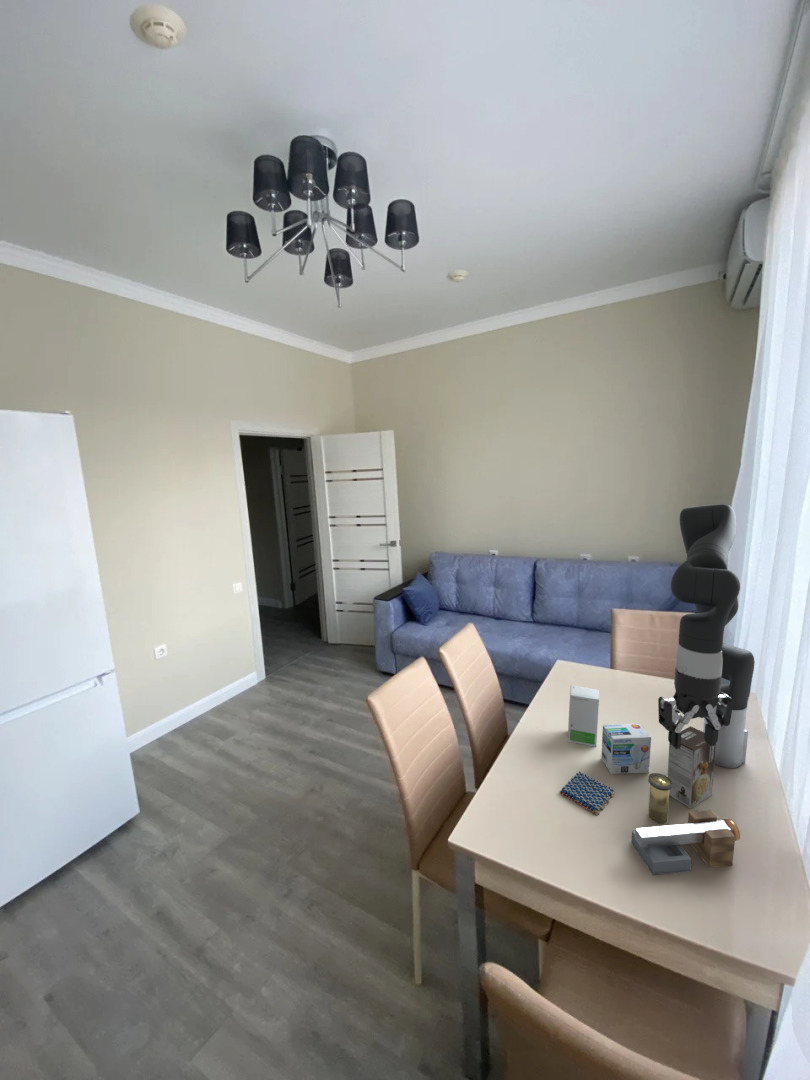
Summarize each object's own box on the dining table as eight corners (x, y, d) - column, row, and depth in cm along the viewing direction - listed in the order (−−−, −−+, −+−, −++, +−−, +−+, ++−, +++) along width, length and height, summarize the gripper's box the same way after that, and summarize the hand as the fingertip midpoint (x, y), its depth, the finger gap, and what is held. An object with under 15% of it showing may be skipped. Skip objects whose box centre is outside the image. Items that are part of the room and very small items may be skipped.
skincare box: (567, 742, 134) (568, 695, 131) (568, 729, 140) (569, 684, 137) (597, 747, 131) (599, 699, 128) (597, 734, 137) (598, 688, 134)
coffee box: (686, 779, 116) (690, 724, 114) (712, 795, 111) (717, 738, 108) (665, 793, 112) (669, 736, 109) (691, 809, 107) (695, 750, 104)
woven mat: (616, 795, 113) (617, 788, 113) (597, 818, 106) (597, 811, 106) (578, 775, 121) (578, 768, 120) (557, 795, 114) (557, 788, 114)
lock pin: (724, 829, 97) (726, 814, 96) (739, 845, 93) (741, 829, 92) (632, 838, 96) (633, 822, 95) (643, 854, 92) (644, 837, 92)
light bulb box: (611, 774, 120) (612, 739, 118) (600, 758, 126) (601, 724, 124) (650, 773, 120) (652, 737, 118) (637, 756, 126) (639, 722, 124)
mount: (707, 837, 99) (710, 809, 98) (732, 865, 92) (735, 836, 91) (686, 839, 99) (688, 811, 98) (709, 867, 92) (712, 838, 91)
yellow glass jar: (661, 808, 108) (663, 772, 106) (674, 824, 103) (676, 786, 101) (642, 810, 107) (644, 773, 106) (654, 826, 103) (656, 788, 101)
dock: (665, 838, 99) (666, 827, 99) (690, 871, 91) (691, 859, 91) (631, 842, 99) (631, 830, 98) (652, 874, 91) (653, 862, 90)
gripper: (719, 657, 89) (712, 731, 92) (650, 661, 89) (646, 736, 92) (749, 674, 82) (741, 754, 85) (674, 679, 81) (669, 760, 84)
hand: (692, 744), depth 88 cm, fingers open, 6 cm apart
